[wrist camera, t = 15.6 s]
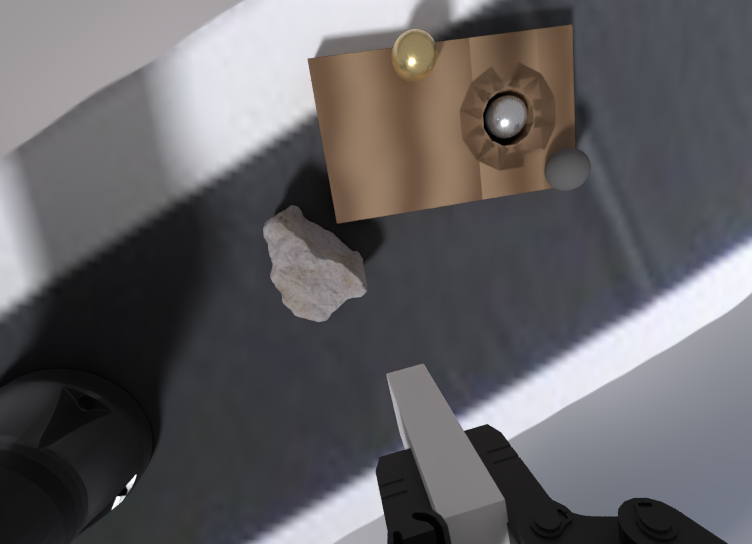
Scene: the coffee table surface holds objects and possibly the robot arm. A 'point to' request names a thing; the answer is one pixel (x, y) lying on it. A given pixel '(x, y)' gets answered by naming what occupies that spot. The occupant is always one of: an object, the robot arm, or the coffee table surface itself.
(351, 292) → the stone
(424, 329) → the coffee table surface
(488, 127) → the ball
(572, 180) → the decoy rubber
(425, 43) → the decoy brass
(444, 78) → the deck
